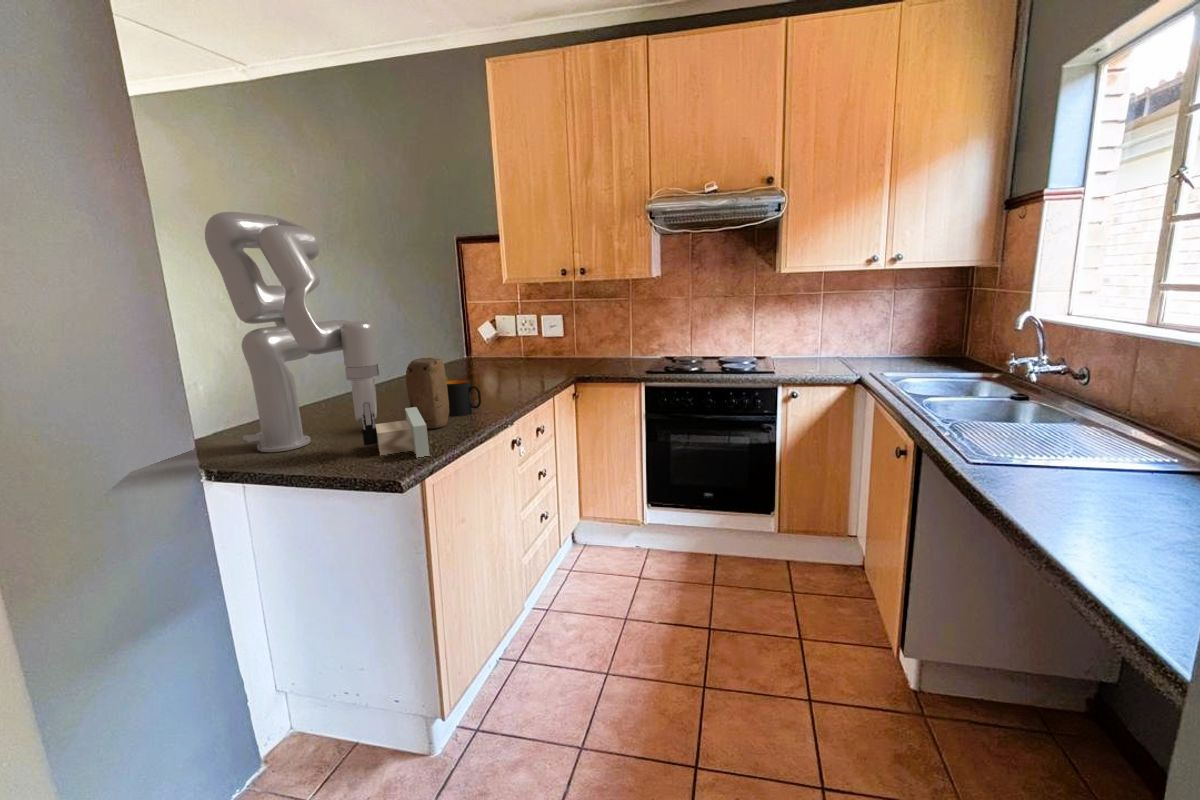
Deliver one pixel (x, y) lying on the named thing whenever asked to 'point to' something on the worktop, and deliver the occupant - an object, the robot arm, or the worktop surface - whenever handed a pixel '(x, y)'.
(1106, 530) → the worktop surface
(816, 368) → the worktop surface
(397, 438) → the beech block
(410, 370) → the brown rounded tall lump
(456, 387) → the mug
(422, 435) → the sage board
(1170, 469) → the worktop surface
